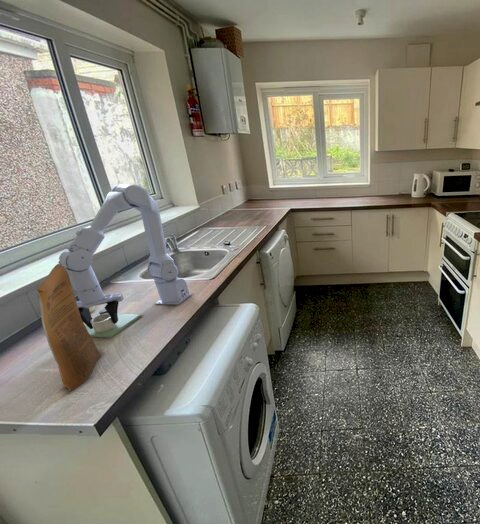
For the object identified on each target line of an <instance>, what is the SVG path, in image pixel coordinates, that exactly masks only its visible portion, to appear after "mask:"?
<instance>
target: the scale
mask: <svg viewBox="0 0 480 524" xmlns="http://www.w3.org/2000/svg"><path fill="white" fill-rule="evenodd" d="M98 315H100V314H99V312H98V313H96V314H95V315H94V317H96V316H98ZM117 316H118V322H117V323H116V325H115V327H114V328H113V329H111V330H109V331H106V332H102V333H98V332H95V331H94V329H90V328H89V327H88V326H87V325H86V324H84V325H85V327H86V329H87V331H88V332H89V334H90V336H91V338H112V337H114V336H115V335H117V334H118V333H120V332H121V331H123V330H124V329H126V327H128V326H129V325H131V324H133V323H134V322H135V321H137V320H138V319H139V318H141V317H142V315H141V314H140V313H139V314H138V313H117Z"/></svg>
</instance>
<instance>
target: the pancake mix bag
mask: <svg viewBox="0 0 480 524" xmlns="http://www.w3.org/2000/svg"><path fill="white" fill-rule="evenodd" d="M35 290H36V291H37V293H36V296H37V298H38V303H39V309H40V319H41V325H42V329H43V332H44V335H45V338H46V341H47V345H48V347H49V349H50V351H51V353H52V356H53V358H54V360H55V363H56V364H57V367H58V372H59V375H60V379H61V381H62V385H63V387H64V389H68V391H69V392H72V391H74V390H75V389H77V388H78V387H81V386H82V385H83V384H84V383H86V382H87V380H89V379H90V377H91V374H92V372H93V371H94V369H95V367H96V365H97V363H98V361H99V359H100V358H101V355H102V354H101V353H100V351H99V349H98V347H97V345H96V343H95V342H94V340H93V337H91V336H90V334H89V332H88V331H87V329H86V327H85V325H86V324H85V323H84V322H83V321H82V319H81V315H80V312H79V310H78V307H77V301H78V300H77V299H76V296H75V294H74V291H73V286H72V283H71V281H70V278H69V275H68V273H67V271H66V268H64V267H63V266H62V265H60V264H59V263H57V264H55V266H54V267H53V268H52V269H51V271H50V272H49V274H48V275H47V276H46V278H45V279H44V280H43V281H42V283H40V284H39V285H38V286H37V287H36V288H35Z"/></svg>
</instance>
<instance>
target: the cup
mask: <svg viewBox="0 0 480 524" xmlns="http://www.w3.org/2000/svg"><path fill="white" fill-rule="evenodd" d="M90 322H91V325H92V327H93V329H94V331H95V332H98V333H102V332H106V331H109V330H111V329H113V328H114V327H115V325H116V324H114V323H113V322H112V319H111V317H110V315H109V313H105V314H101V315H98V316H96V317H95V316H94V317H92V319H91V321H90Z"/></svg>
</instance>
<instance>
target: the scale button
mask: <svg viewBox="0 0 480 524" xmlns="http://www.w3.org/2000/svg"><path fill="white" fill-rule="evenodd" d="M98 313H99V314H100V315H101V314H105V313H108V312H107V310H106V309H105V308H103V309H101V310H99V311H98Z"/></svg>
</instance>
